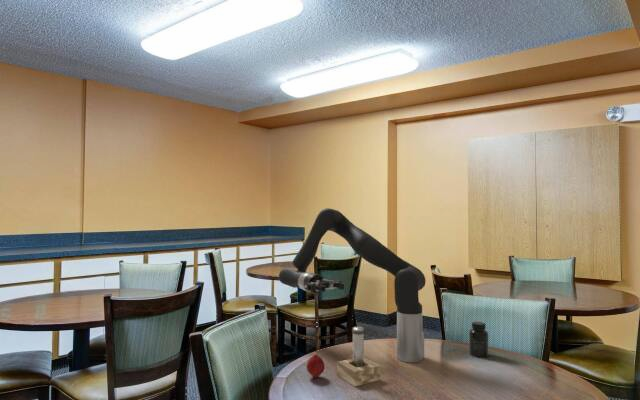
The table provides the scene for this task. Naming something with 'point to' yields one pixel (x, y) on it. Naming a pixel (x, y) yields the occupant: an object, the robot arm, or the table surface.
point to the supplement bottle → (478, 340)
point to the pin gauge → (358, 346)
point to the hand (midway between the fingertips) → (334, 287)
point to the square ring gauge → (358, 372)
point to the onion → (315, 365)
